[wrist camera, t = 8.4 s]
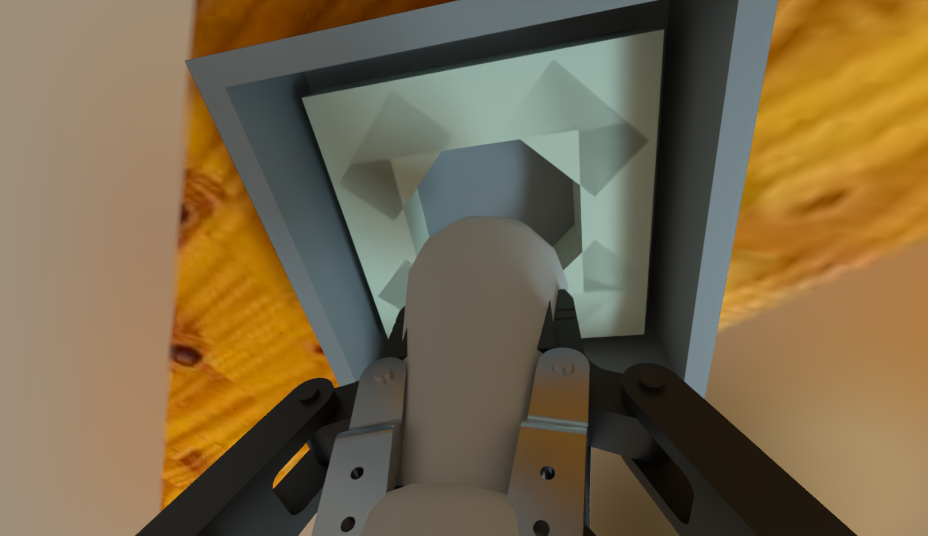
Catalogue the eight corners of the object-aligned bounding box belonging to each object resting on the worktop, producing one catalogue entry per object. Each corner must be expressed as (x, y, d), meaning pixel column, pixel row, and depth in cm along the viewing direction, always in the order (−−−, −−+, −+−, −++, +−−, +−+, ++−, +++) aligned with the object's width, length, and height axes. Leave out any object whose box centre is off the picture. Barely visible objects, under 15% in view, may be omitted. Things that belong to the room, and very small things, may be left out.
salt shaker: (512, 332, 19) (508, 773, 8) (401, 278, 18) (219, 693, 7) (590, 236, 16) (759, 732, 5) (461, 165, 15) (310, 582, 4)
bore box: (285, 46, 19) (184, 60, 14) (690, -42, 16) (791, -74, 10) (387, 332, 29) (353, 415, 23) (659, 313, 25) (703, 405, 19)
